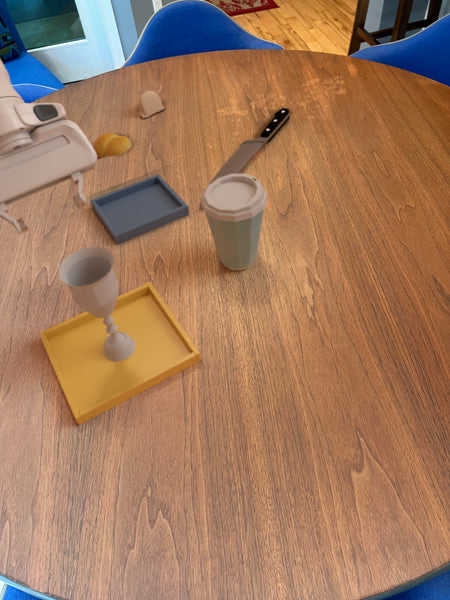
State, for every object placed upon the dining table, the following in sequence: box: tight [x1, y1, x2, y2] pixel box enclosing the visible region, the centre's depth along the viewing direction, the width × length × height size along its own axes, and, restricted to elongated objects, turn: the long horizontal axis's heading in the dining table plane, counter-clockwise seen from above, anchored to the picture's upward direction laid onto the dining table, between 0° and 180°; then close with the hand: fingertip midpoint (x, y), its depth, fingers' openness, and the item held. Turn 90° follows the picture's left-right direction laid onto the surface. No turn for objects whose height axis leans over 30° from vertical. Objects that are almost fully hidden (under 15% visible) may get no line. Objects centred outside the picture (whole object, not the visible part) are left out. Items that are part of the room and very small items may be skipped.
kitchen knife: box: [199, 107, 291, 211], centre depth 107 cm, size 5×41×2 cm, turn 150°
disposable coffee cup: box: [200, 173, 268, 272], centre depth 81 cm, size 11×11×15 cm
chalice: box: [58, 246, 135, 362], centre depth 68 cm, size 7×7×18 cm
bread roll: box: [92, 132, 133, 159], centre depth 111 cm, size 8×9×4 cm
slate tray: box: [89, 173, 190, 245], centre depth 97 cm, size 16×14×2 cm
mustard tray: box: [38, 281, 202, 426], centre depth 74 cm, size 20×18×2 cm
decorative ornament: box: [137, 84, 165, 119], centre depth 123 cm, size 4×8×5 cm, turn 129°
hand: (54, 218), depth 71 cm, fingers open, 8 cm apart
